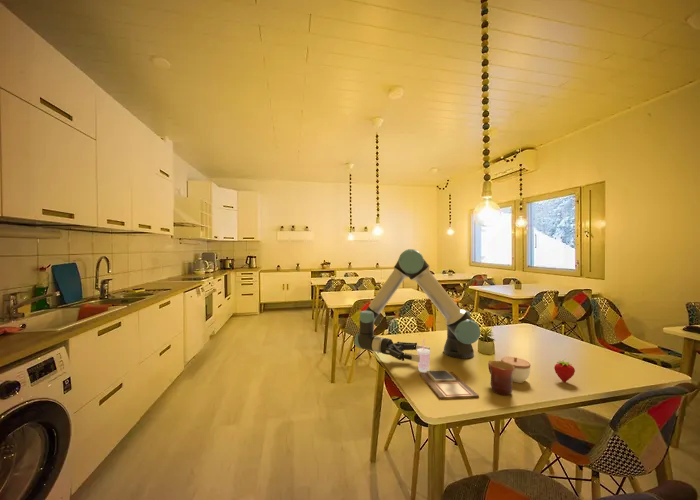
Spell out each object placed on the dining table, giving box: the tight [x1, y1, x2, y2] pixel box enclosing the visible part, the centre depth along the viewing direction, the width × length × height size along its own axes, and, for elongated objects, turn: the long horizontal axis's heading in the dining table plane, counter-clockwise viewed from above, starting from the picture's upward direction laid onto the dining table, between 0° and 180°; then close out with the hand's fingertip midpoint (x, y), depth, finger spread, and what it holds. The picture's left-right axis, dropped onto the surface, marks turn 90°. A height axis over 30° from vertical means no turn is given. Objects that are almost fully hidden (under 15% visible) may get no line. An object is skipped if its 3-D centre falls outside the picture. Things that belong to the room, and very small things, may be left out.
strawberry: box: [553, 358, 576, 383], centre depth 116 cm, size 6×8×10 cm
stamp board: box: [419, 369, 480, 400], centre depth 111 cm, size 15×21×2 cm
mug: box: [488, 360, 515, 396], centre depth 108 cm, size 12×9×10 cm
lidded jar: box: [500, 356, 531, 384], centre depth 118 cm, size 11×11×9 cm
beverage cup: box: [416, 339, 431, 373], centre depth 126 cm, size 6×6×14 cm
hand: (424, 354), depth 125 cm, fingers open, 13 cm apart
